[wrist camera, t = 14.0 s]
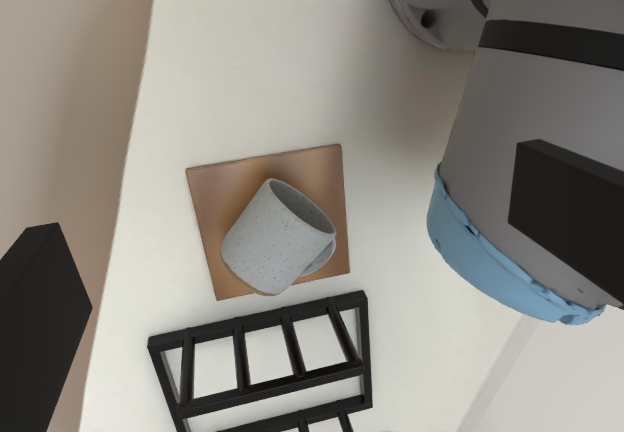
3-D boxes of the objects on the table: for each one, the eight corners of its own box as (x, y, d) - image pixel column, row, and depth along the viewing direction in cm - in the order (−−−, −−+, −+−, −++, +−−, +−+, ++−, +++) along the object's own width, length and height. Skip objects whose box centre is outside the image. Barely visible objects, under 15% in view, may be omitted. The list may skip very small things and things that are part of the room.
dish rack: (363, 289, 48) (400, 356, 39) (368, 398, 56) (401, 476, 46) (148, 336, 45) (133, 422, 35) (186, 446, 52) (182, 540, 43)
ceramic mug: (212, 236, 41) (214, 282, 34) (261, 166, 39) (274, 200, 32) (301, 281, 45) (319, 330, 39) (349, 220, 43) (376, 261, 37)
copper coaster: (339, 143, 40) (341, 145, 40) (348, 270, 47) (350, 273, 46) (185, 168, 38) (185, 171, 38) (216, 297, 44) (216, 301, 44)
